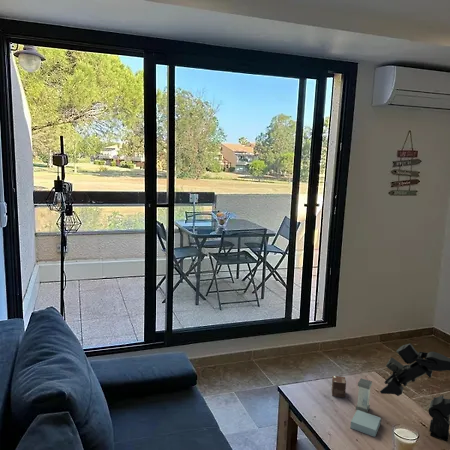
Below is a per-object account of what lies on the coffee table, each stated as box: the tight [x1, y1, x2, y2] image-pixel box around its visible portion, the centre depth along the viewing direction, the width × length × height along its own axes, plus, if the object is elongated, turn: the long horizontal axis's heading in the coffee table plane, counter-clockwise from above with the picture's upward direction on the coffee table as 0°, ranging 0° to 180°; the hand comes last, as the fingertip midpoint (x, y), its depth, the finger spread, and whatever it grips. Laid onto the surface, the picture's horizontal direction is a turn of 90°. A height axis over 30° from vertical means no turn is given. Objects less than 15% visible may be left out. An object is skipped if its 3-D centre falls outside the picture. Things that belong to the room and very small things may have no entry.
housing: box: [355, 377, 373, 414], centre depth 184 cm, size 5×5×13 cm
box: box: [331, 375, 347, 398], centre depth 196 cm, size 6×6×7 cm
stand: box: [350, 410, 382, 438], centre depth 172 cm, size 10×10×3 cm
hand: (382, 387), depth 179 cm, fingers open, 9 cm apart
